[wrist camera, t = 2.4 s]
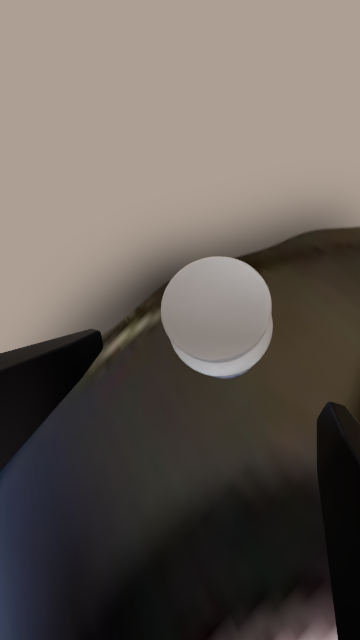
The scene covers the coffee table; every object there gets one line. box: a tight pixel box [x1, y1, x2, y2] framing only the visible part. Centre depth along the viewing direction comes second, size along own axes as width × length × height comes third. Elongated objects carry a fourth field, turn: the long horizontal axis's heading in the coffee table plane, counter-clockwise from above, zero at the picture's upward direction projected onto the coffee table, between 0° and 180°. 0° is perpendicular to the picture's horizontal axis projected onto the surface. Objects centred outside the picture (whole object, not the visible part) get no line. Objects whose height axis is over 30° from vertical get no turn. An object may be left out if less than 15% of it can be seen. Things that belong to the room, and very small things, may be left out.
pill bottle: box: [161, 256, 273, 379], centre depth 13 cm, size 6×6×10 cm
